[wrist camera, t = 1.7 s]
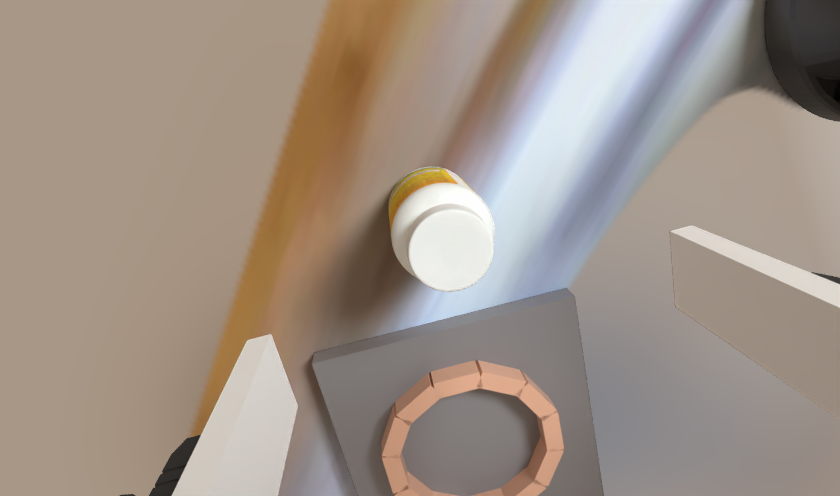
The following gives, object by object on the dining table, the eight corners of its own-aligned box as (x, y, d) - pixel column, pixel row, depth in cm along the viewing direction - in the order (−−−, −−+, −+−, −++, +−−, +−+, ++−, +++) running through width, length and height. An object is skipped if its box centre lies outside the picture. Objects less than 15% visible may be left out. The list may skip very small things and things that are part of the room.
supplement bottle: (485, 188, 32) (531, 226, 22) (445, 259, 33) (474, 323, 24) (410, 149, 30) (428, 173, 21) (372, 225, 32) (373, 278, 23)
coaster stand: (566, 288, 34) (584, 305, 31) (596, 487, 40) (613, 518, 37) (314, 352, 34) (309, 376, 31) (380, 544, 39) (381, 580, 37)
